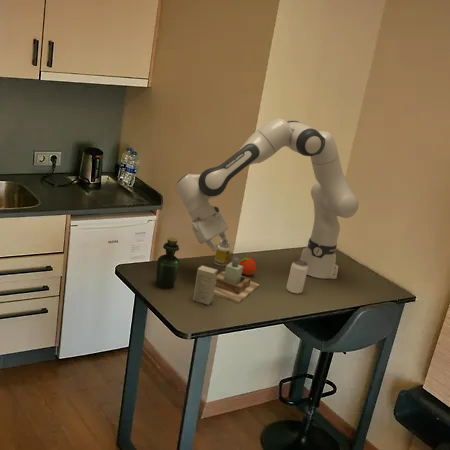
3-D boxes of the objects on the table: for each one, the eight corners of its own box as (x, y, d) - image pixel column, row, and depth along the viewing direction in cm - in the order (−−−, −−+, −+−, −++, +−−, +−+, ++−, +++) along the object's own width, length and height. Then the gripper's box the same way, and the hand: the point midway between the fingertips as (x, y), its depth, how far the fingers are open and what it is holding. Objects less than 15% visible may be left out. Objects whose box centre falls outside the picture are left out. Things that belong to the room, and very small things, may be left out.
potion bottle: (178, 290, 220) (186, 244, 215) (156, 289, 217) (164, 243, 212) (172, 280, 227) (180, 235, 222) (151, 279, 224) (158, 234, 219)
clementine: (239, 278, 242) (243, 261, 239) (232, 270, 247) (235, 254, 245) (257, 277, 245) (260, 261, 243) (249, 270, 251) (252, 254, 249)
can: (292, 285, 244) (299, 258, 241) (305, 292, 240) (312, 264, 237) (282, 288, 240) (289, 260, 236) (295, 295, 236) (302, 267, 232)
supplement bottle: (225, 267, 249) (229, 245, 246) (212, 264, 250) (217, 242, 247) (227, 262, 254) (232, 241, 251) (215, 259, 255) (219, 238, 252)
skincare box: (212, 301, 217) (218, 269, 213) (208, 305, 213) (214, 273, 209) (196, 295, 219) (202, 264, 215) (191, 299, 215) (197, 268, 211)
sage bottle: (227, 281, 234) (232, 254, 230) (239, 285, 232) (244, 259, 229) (222, 285, 229) (227, 258, 226) (234, 289, 228) (239, 262, 224)
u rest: (222, 273, 243) (224, 264, 241) (258, 286, 237) (261, 277, 236) (199, 288, 225) (201, 279, 224) (238, 303, 219) (241, 293, 218)
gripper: (196, 217, 218) (216, 250, 218) (220, 206, 236) (238, 237, 236) (183, 225, 221) (203, 258, 221) (208, 213, 239) (225, 244, 239)
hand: (221, 247), depth 229 cm, fingers open, 8 cm apart
